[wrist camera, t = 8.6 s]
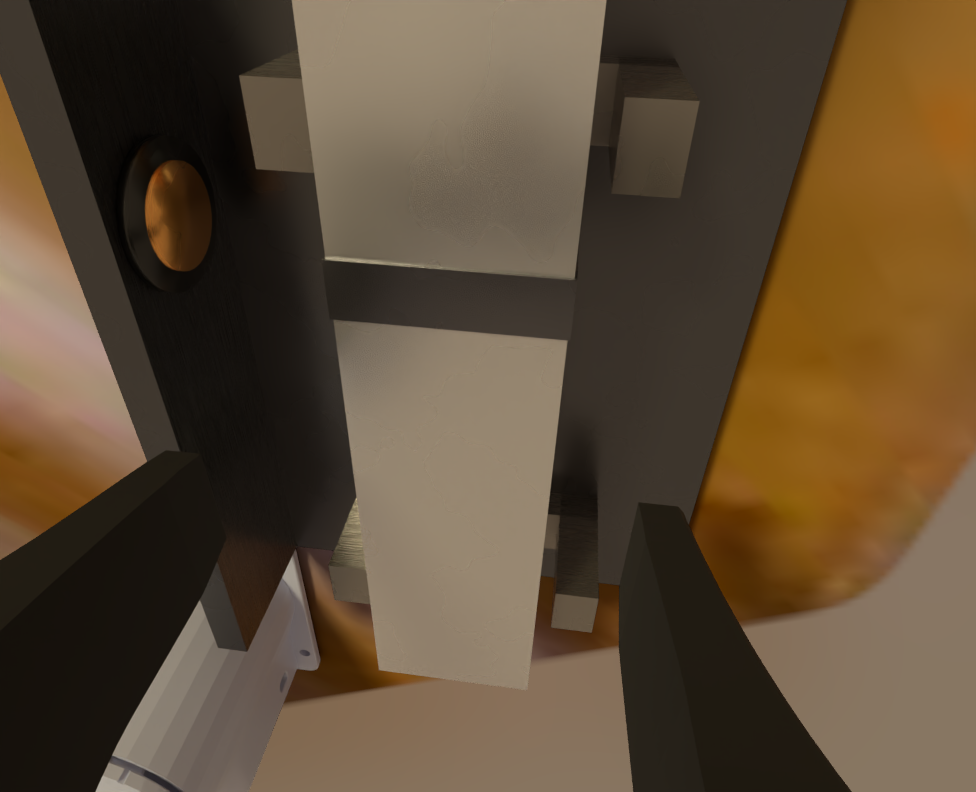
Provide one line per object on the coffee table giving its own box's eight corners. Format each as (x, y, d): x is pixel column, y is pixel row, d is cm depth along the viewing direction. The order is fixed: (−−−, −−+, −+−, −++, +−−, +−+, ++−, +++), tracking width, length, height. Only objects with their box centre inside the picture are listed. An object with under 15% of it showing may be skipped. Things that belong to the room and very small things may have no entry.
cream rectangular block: (539, 569, 22) (529, 692, 19) (410, 554, 23) (377, 671, 19) (627, -229, 11) (646, -303, 7) (358, -232, 11) (245, -303, 7)
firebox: (666, 569, 25) (682, 711, 20) (281, 523, 26) (218, 647, 22) (858, -96, 13) (998, -104, 8) (131, -118, 14) (-79, -134, 10)
